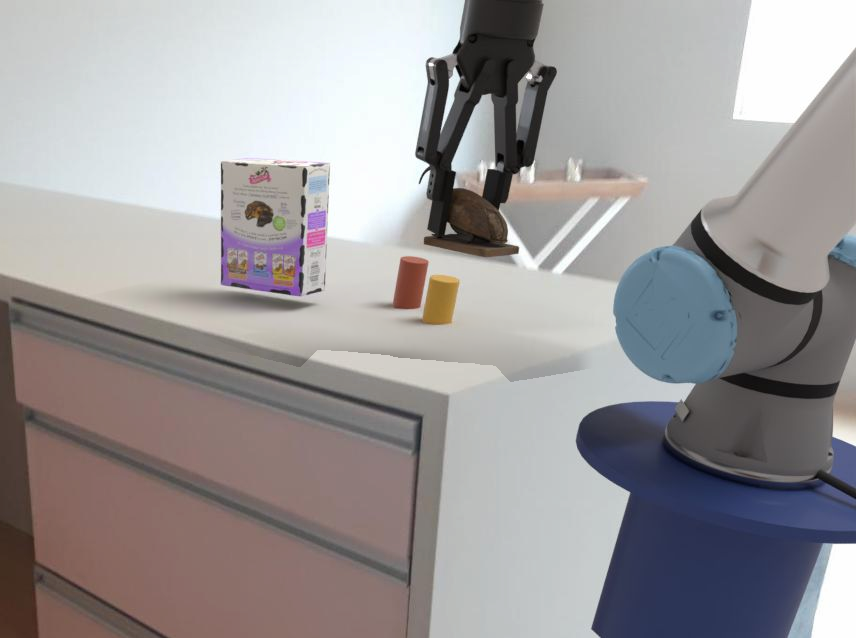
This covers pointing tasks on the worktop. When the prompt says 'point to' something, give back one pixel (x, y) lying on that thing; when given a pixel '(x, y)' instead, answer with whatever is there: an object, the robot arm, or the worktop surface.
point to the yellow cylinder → (440, 299)
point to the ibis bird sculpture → (473, 226)
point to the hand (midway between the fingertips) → (460, 232)
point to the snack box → (274, 225)
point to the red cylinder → (410, 282)
